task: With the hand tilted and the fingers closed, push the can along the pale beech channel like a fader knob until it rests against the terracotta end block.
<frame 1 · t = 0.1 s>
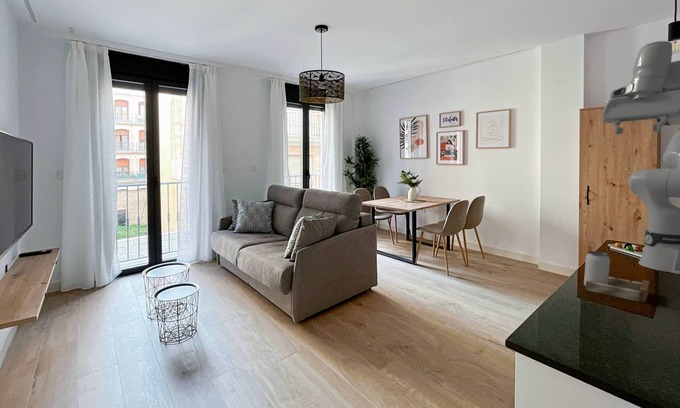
hand: (636, 132, 106), 52 cm above the kitchen counter, tool tilted 20°, fingers open, 8 cm apart
can: (595, 287, 114), on the kitchen counter
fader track: (610, 290, 111), on the kitchen counter
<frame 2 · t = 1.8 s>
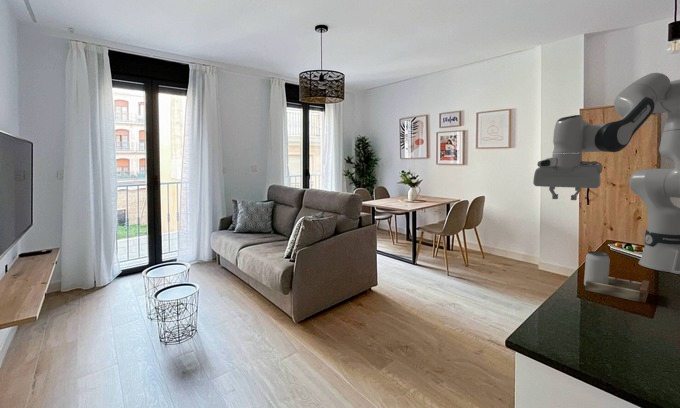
hand: (564, 199, 121), 29 cm above the kitchen counter, tool pointing down, fingers open, 4 cm apart
nothing on the kitchen counter moved.
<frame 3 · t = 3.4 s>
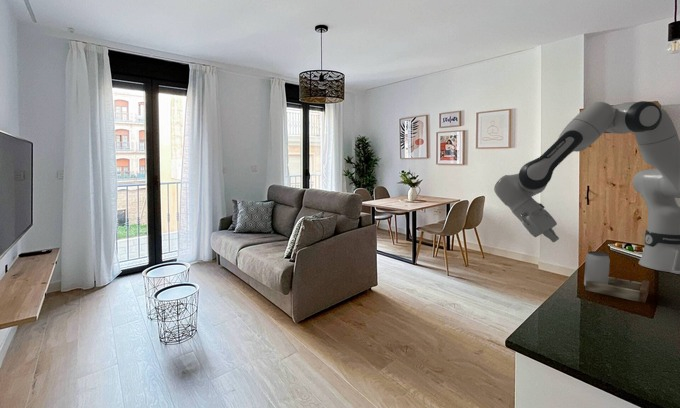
hand: (556, 240, 120), 14 cm above the kitchen counter, tool tilted 45°, fingers closed
nothing on the kitchen counter moved.
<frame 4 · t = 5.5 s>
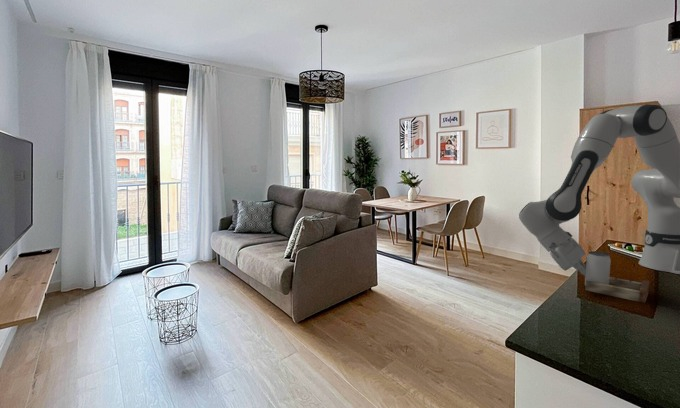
hand: (586, 273, 115), 4 cm above the kitchen counter, tool tilted 45°, fingers closed
can: (596, 287, 114), on the kitchen counter, touching gripper
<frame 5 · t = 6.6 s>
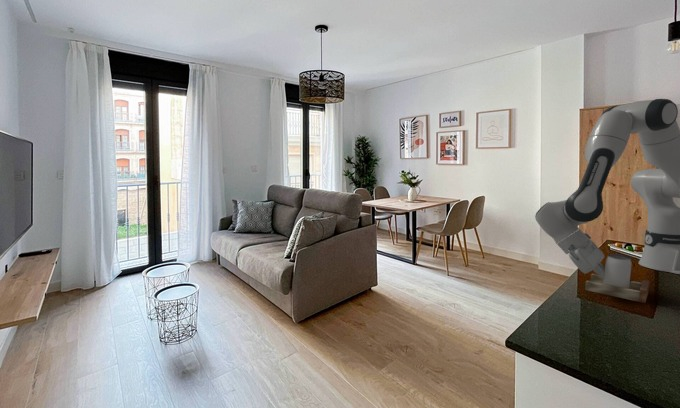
hand: (606, 276, 111), 4 cm above the kitchen counter, tool tilted 45°, fingers closed, pressing on can
can: (615, 292, 110), on the kitchen counter, touching gripper
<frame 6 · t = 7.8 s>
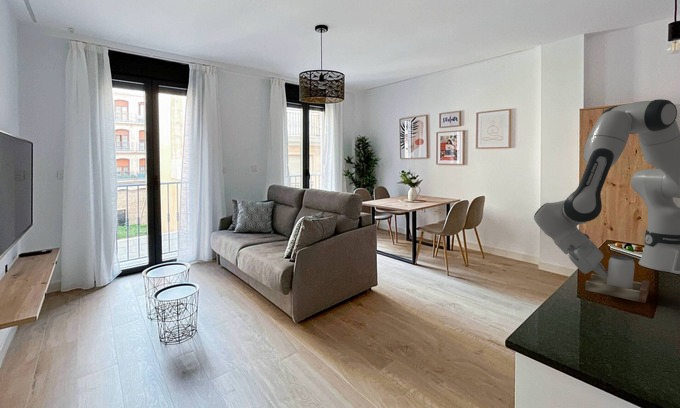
hand: (606, 276, 111), 5 cm above the kitchen counter, tool tilted 45°, fingers closed
can: (618, 293, 109), on the kitchen counter
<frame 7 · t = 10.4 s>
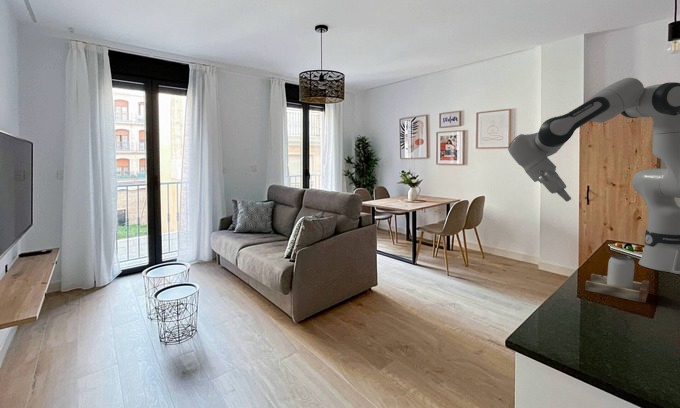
hand: (569, 200, 120), 29 cm above the kitchen counter, tool tilted 40°, fingers closed
nothing on the kitchen counter moved.
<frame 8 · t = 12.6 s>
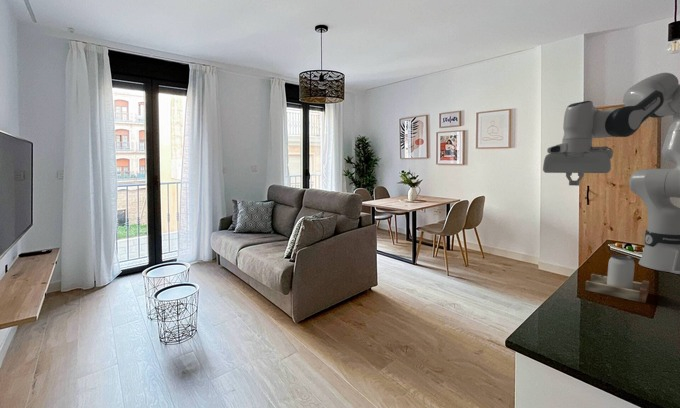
hand: (574, 185, 122), 34 cm above the kitchen counter, tool pointing down, fingers closed
nothing on the kitchen counter moved.
at the end: can 1.6 cm from the target spot, on the kitchen counter; can tilted 0°; can moved 6.3 cm from its start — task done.
